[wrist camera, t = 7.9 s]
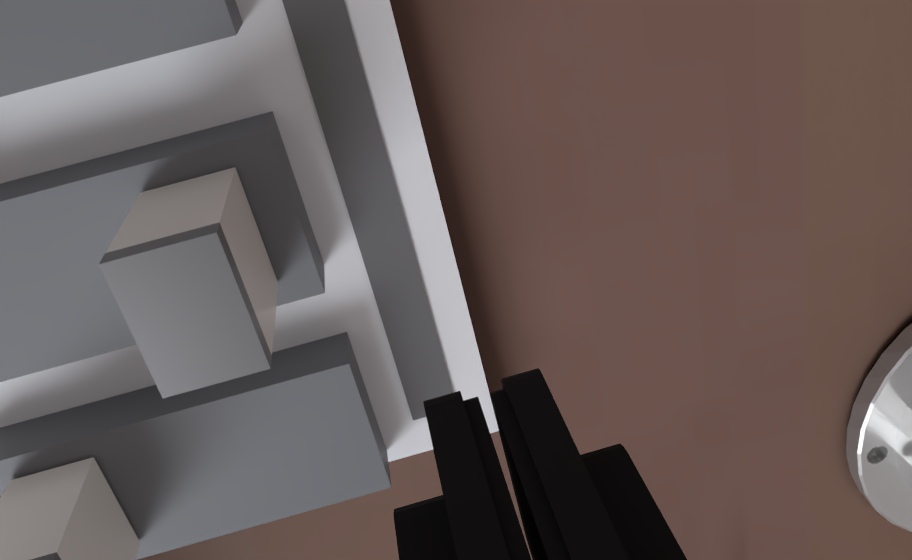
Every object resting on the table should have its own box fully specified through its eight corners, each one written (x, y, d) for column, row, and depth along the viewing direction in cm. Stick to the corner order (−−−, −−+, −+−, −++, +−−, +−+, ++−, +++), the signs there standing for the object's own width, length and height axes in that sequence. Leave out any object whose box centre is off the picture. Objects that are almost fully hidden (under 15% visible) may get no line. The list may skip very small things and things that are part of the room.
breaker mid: (235, 167, 22) (216, 232, 18) (278, 284, 24) (270, 368, 20) (139, 192, 22) (98, 264, 18) (189, 308, 24) (162, 398, 19)
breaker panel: (326, -239, 21) (327, -260, 18) (491, 406, 31) (510, 465, 28) (-449, -44, 21) (-584, -31, 18) (-38, 555, 30) (-78, 633, 27)
